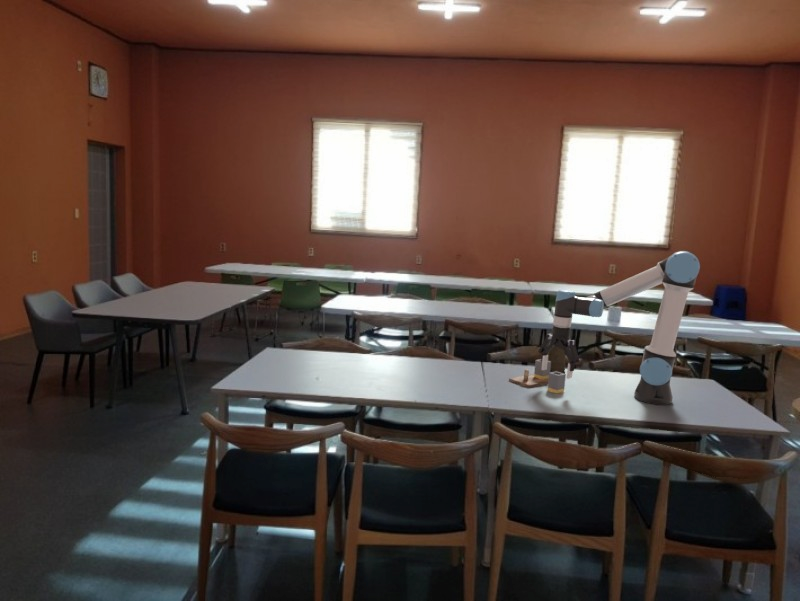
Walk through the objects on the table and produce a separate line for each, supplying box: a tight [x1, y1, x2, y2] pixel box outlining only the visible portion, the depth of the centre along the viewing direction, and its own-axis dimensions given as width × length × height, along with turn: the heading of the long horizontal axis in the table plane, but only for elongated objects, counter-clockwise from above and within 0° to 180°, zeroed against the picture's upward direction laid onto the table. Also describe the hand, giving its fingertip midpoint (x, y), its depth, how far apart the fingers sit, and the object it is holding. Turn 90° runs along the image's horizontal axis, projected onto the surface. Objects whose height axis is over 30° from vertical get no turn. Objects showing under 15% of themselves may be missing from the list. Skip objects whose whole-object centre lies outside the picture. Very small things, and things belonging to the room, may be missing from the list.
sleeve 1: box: [533, 358, 551, 380], centre depth 276 cm, size 5×5×8 cm
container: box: [548, 339, 566, 374], centre depth 290 cm, size 9×9×18 cm
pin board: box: [508, 368, 549, 389], centre depth 274 cm, size 12×20×6 cm, turn 127°
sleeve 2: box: [547, 371, 567, 394], centre depth 260 cm, size 5×5×8 cm
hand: (556, 373), depth 259 cm, fingers open, 13 cm apart
